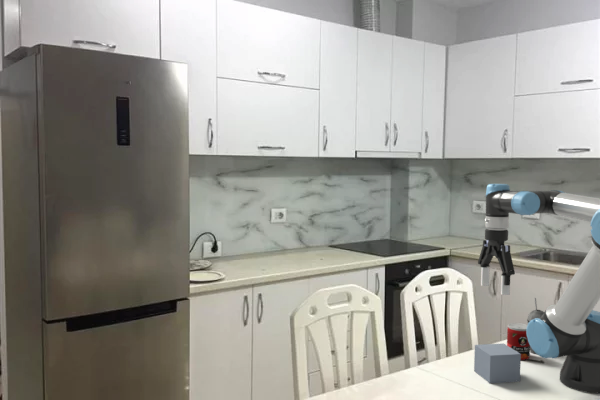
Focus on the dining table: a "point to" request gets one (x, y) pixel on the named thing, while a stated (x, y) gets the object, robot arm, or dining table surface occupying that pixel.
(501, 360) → the slate blue cube
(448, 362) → the dining table surface
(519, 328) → the canned food
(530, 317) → the beverage cup
